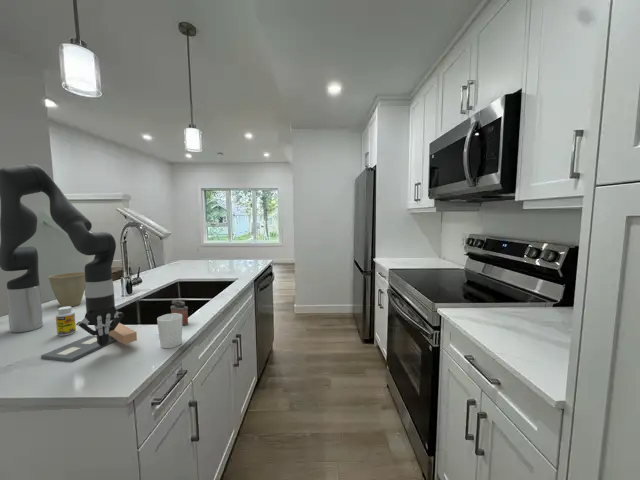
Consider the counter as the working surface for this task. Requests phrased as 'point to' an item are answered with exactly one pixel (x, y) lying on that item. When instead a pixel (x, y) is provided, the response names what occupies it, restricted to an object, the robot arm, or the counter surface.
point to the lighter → (180, 311)
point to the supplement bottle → (65, 321)
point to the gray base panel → (76, 349)
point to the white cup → (170, 330)
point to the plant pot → (68, 288)
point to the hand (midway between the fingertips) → (103, 344)
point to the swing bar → (123, 334)
